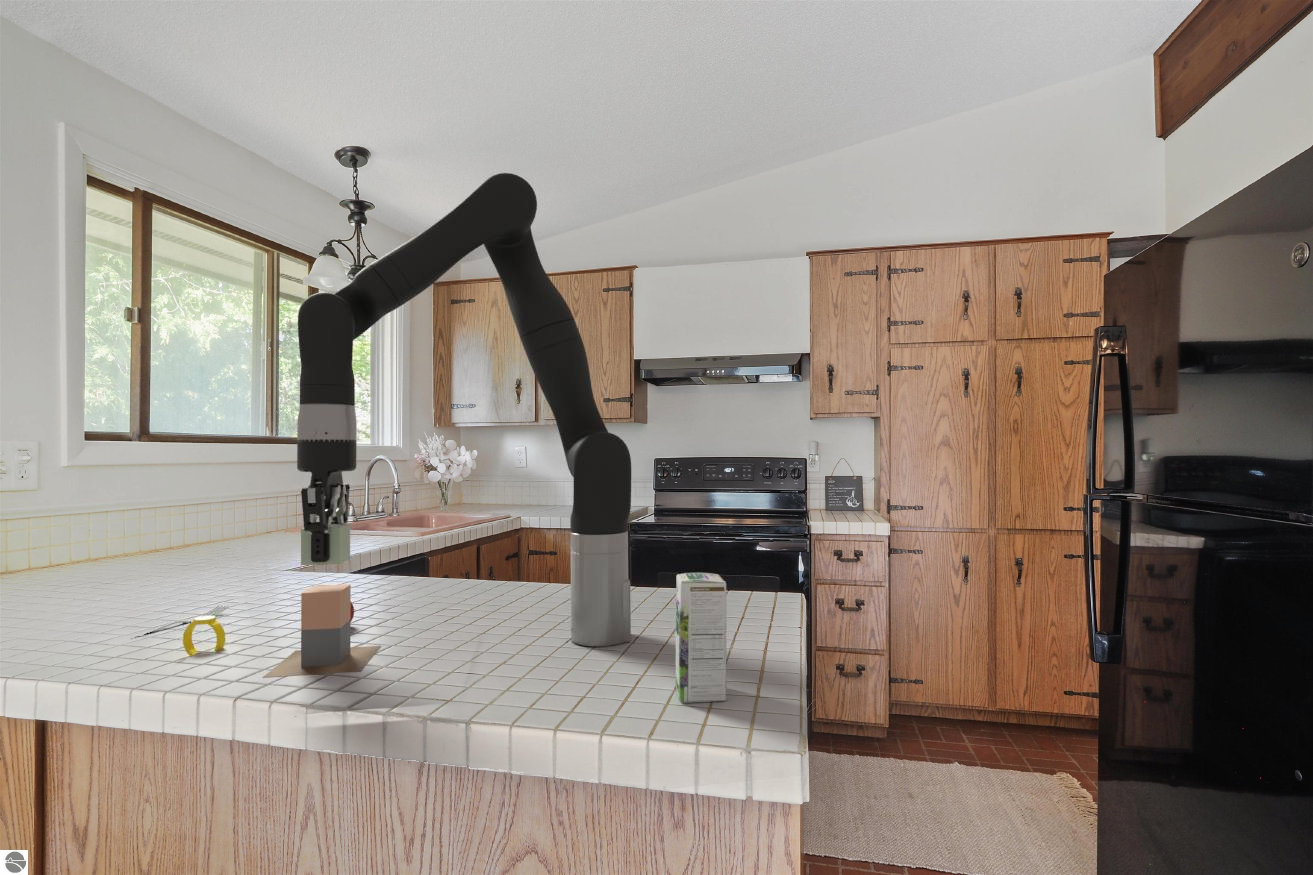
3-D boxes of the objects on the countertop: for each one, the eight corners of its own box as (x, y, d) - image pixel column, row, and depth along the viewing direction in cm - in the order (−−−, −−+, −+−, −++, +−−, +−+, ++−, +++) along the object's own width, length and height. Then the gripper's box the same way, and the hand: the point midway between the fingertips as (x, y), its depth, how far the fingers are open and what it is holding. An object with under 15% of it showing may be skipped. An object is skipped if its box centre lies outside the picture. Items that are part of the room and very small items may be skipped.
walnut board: (381, 653, 101) (381, 645, 101) (360, 680, 89) (360, 671, 89) (295, 658, 99) (295, 650, 99) (262, 686, 87) (262, 677, 87)
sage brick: (350, 558, 97) (350, 523, 97) (340, 563, 92) (340, 527, 92) (313, 559, 96) (313, 524, 96) (300, 565, 91) (301, 528, 91)
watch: (228, 656, 101) (231, 617, 101) (213, 662, 98) (216, 621, 98) (192, 652, 102) (195, 613, 102) (177, 658, 99) (180, 617, 99)
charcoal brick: (350, 653, 97) (350, 619, 97) (340, 664, 92) (340, 627, 92) (313, 656, 96) (313, 620, 96) (301, 666, 91) (301, 629, 91)
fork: (82, 651, 105) (82, 639, 105) (217, 614, 128) (217, 605, 129) (98, 652, 104) (98, 641, 104) (231, 615, 128) (231, 605, 128)
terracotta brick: (350, 619, 97) (350, 584, 97) (340, 628, 92) (340, 591, 92) (313, 620, 96) (313, 585, 96) (301, 629, 91) (301, 593, 91)
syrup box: (674, 687, 85) (673, 572, 86) (720, 685, 86) (719, 571, 86) (679, 703, 79) (678, 581, 80) (729, 701, 80) (727, 580, 80)
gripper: (341, 436, 88) (340, 566, 88) (368, 438, 102) (367, 550, 102) (279, 436, 87) (278, 568, 86) (315, 438, 101) (314, 552, 100)
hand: (326, 557), depth 94 cm, fingers closed on sage brick, 5 cm apart
